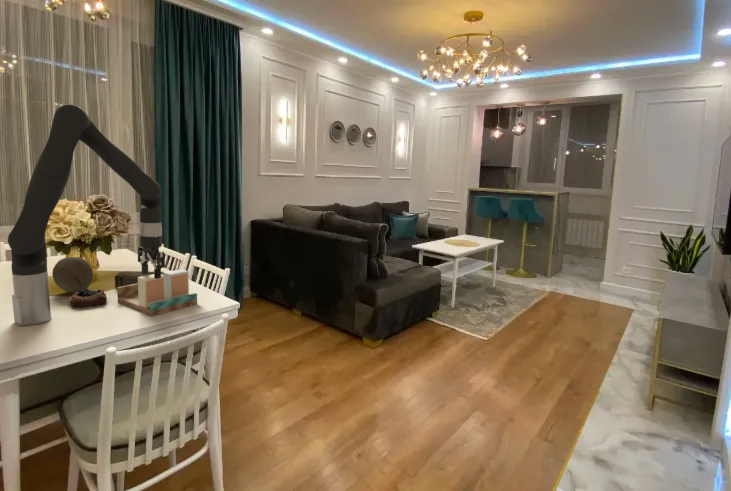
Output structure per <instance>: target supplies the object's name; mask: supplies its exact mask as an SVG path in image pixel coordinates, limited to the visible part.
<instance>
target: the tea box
mask: <svg viewBox="0 0 731 491" xmlns="http://www.w3.org/2000/svg"><path fill="white" fill-rule="evenodd" d="M138 298H139V305H140V306H142V307H145V308H146V307H150V304H153V303H157V302H161V301H165V275H161V278H159V279H155V278H154V274H152V275H147V276H141V277H138Z"/></svg>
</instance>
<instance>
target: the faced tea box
mask: <svg viewBox="0 0 731 491" xmlns="http://www.w3.org/2000/svg"><path fill="white" fill-rule="evenodd" d="M163 272H164V273H163V275H165V300H169V299H173V298H177V297H181V296H185V295H189V294H190V293H189V291H190V290H189V289H190V288H189V287H190V285H189V278H190V276H189V270H186V269H183V268H181V269H176V270H171V271H163Z"/></svg>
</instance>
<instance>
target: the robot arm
mask: <svg viewBox="0 0 731 491" xmlns="http://www.w3.org/2000/svg"><path fill="white" fill-rule="evenodd" d="M79 141H81V142H82V143H84V145H86V146H87V147H89V149H91V150H92V151H93V152H94V153H95V154H96V155H97V156H98V157H99V158H100V159H101V160H102V162H104V163H105V164H106V165H107V166H108V167H109V168H110V169H111V170H112V171H113V172H114V173H115V174H117V175H118V176H119V177H120V178H121V179H122V180H124V181H125V182H126V183H128V185H129V186H130V187H131V188H132V189H133V190H134V191H135V192H136V193H137V194H138V195H139V196H140V208H139V227H138V233H139V238H138V240H139V241H138V242H139V246H137V263H139V264H140V265H141V271H142V274H148V272H149V262H150V264H151V265H152V267H153V268H154V269H153V272H154V278H155V279H159V278H161V272H162V269H163V268H166V257H165V252H164V251H160V248H161V247H162V246H163V228H162V211H161V199H162V196H161V195H162V188H161V186H160V184H159V182H157V181H156V180H154V179H152V178H151V177H150V176H149V175H148V174H146V172H144V171H143V170H142V168H141V167H140V166H139V165H138V164H137V163H136V162H135V160H133V159H131V157H129V156H128V155H127V154H126V153H125V152H124V151H122V150H121V149H120V148H119V147H118V146H116V145H115V144H114V143H113V142H112V141H110V140H109V139H108V138H107V137H106V136H105V135H104V134H103V133H102V132H101V131H100V130H99V129H98V127H97V126H96V125H95V124H94V123H93V121H92V120H91V119H90V116H89V115H88V113H87V112H86V111H85V110H83V109H82V108H81V107H80V106H78V105H76V104H63V105H61V106H59V107H58V108H57V109H56V110H55V112H54V115H53V118H52V123H51V128H50V132H49V136H48V139H47V142H46V144H45V145H44V148H43V150H42V152H41V154H40V156H39V158H38V160H37V163H36V165H35V167H34V170H33V172H32V175H31V176H30V177H31V178H30V180H29V183H28V186H27V190H26V195H25V197H24V198H25V199H24V202H23V206H22V210H21V212H20V214H19V217H18V219H17V220H16V223H15V224H14V226H13V227H12V230H11V231H10V232H9V233H8V236H7V244H8V246H9V248H10V250H11V251H10V252H11V273H12V274H11V276H12V284H13V285H12V286H13V294H12V295H11V299H12V300H11V301H12V311H13V319H14V323H16V324H17V325H18V326H20V327H23V326H33V325H35V326H36V325H39V324H43V323H46V322H49V321H50V320H51V319H52V310H51V301H50V300H51V299H50V287H49V274H48V254H47V241H46V232H47V228H48V223H49V220H50V219H51V216H52V214H53V212H54V211H55V208H56V207H57V205H58V203H59V201H60V199H61V198H62V196H63V193H64V192H65V189H66V186H67V184H68V181H69V177H70V175H71V169H72V162H73V158H74V153H75V148H76V146H77V145H78V142H79Z"/></svg>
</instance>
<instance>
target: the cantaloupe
mask: <svg viewBox="0 0 731 491" xmlns="http://www.w3.org/2000/svg"><path fill="white" fill-rule="evenodd" d="M52 278H53V281H54V283H55V285H57V287H58V288H60V289H61V290H63V291H65V292H68V293H72V294H75V293H77V292H79V291H81V290H85V289H89V287H90V286H91V283H92V281H93V278H94V271H93V268H92V267H91V265H90V263H89V262H88V261H87V260H86V259H85V258H83V257H79V256H73V257H72V256H67V257H63V258H61V259H59V260H58V261H57V262H56V263H55V265H54V267H53V268H52Z"/></svg>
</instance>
